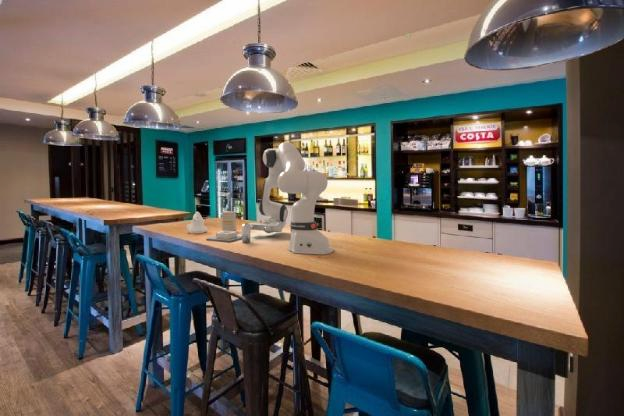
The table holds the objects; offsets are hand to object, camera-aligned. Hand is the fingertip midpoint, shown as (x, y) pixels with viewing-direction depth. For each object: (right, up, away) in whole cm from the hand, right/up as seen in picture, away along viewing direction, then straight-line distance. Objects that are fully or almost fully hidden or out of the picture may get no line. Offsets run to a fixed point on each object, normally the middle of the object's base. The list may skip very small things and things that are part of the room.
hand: (257, 228), depth 205 cm
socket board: (-18, -6, -1) cm, 19 cm away
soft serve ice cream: (-43, -4, +25) cm, 50 cm away
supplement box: (-23, -4, +28) cm, 37 cm away
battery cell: (-5, -7, -10) cm, 13 cm away
